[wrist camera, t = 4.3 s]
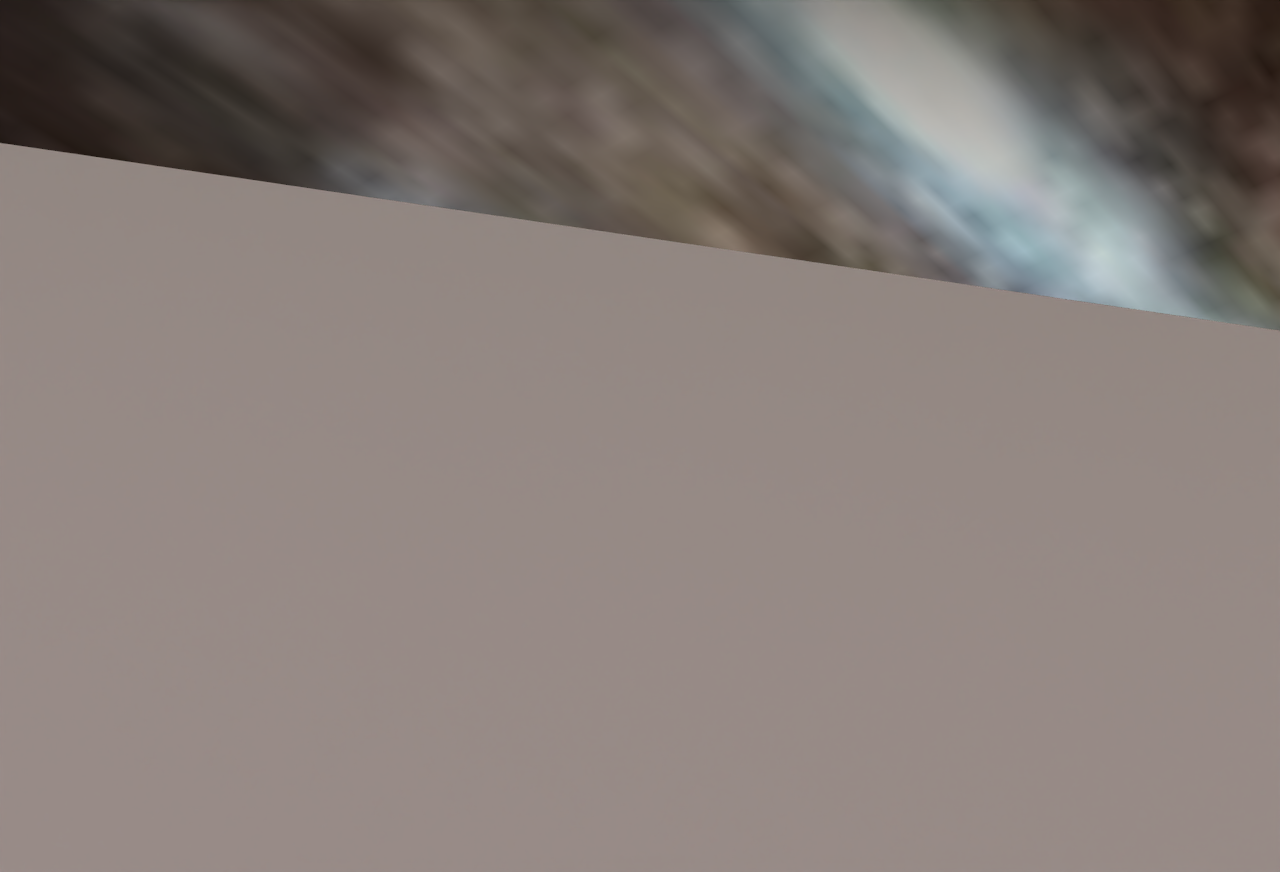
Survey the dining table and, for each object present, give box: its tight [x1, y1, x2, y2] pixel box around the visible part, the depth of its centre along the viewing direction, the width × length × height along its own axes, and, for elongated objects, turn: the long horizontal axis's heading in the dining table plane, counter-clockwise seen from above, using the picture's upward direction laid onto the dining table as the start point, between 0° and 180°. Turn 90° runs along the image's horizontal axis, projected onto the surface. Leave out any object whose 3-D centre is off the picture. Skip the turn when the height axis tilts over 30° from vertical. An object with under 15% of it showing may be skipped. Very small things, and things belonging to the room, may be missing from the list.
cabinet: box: [0, 143, 1280, 872], centre depth 10 cm, size 8×11×12 cm
